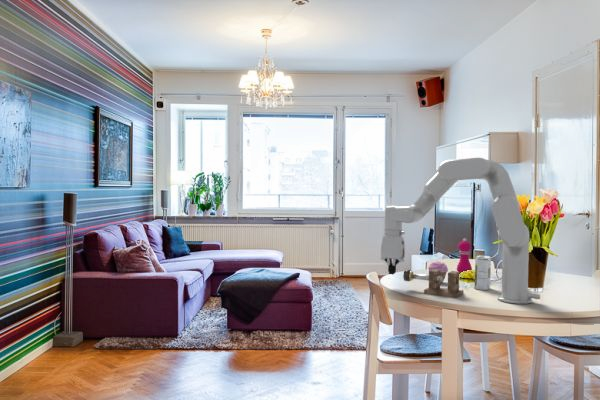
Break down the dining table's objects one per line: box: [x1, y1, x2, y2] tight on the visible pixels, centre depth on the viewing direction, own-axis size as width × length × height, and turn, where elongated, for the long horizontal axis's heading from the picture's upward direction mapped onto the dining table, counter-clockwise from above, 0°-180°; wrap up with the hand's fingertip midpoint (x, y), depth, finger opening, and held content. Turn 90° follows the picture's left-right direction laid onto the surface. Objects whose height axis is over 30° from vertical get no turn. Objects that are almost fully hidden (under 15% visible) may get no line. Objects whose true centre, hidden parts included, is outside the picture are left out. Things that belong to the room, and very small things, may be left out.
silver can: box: [474, 255, 492, 291], centre depth 211 cm, size 6×6×14 cm
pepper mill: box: [456, 238, 473, 274], centre depth 238 cm, size 7×7×20 cm
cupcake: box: [427, 261, 449, 284], centre depth 226 cm, size 9×9×10 cm
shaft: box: [403, 269, 443, 283], centre depth 205 cm, size 16×5×5 cm, turn 56°
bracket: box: [423, 269, 464, 299], centre depth 200 cm, size 14×9×10 cm, turn 56°
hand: (391, 273), depth 213 cm, fingers closed
